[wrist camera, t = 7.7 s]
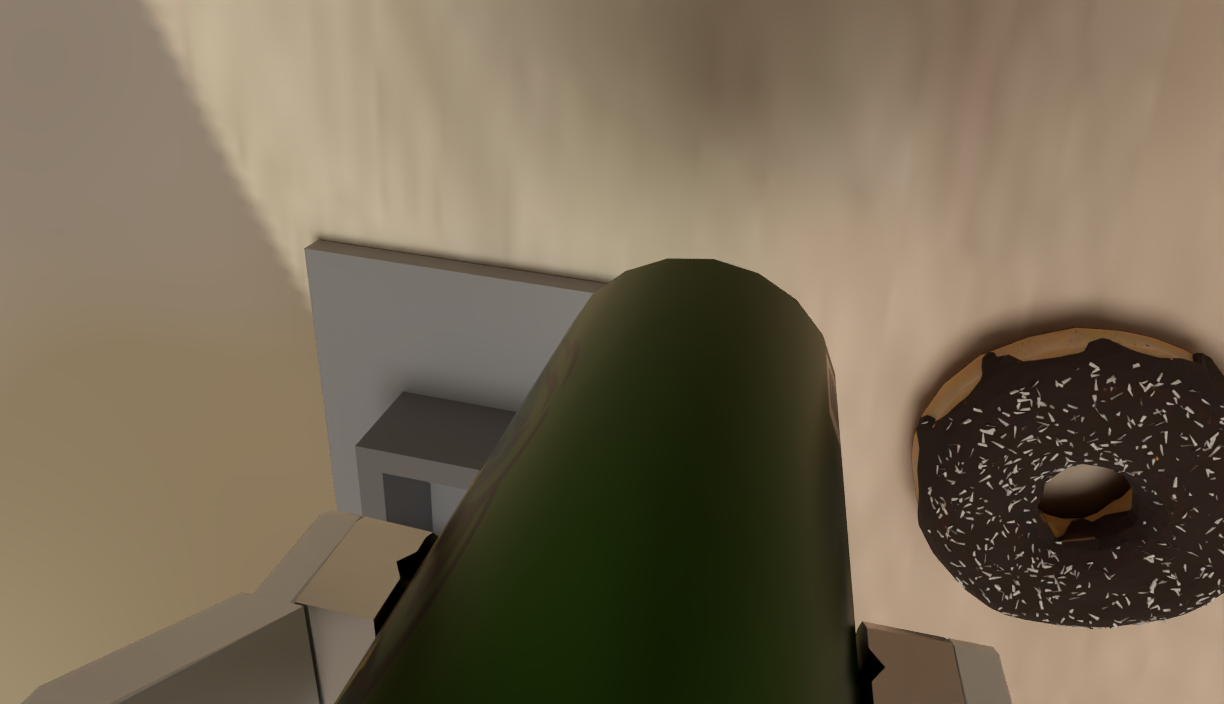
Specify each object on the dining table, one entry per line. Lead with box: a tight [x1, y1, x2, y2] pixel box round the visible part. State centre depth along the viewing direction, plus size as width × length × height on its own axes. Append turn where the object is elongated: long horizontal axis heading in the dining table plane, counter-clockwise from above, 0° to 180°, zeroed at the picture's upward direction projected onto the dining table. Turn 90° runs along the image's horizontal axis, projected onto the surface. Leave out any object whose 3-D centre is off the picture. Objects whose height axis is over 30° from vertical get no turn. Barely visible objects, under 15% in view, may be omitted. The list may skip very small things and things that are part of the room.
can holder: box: [304, 240, 607, 536], centre depth 32 cm, size 20×16×5 cm
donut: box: [911, 328, 1224, 629], centre depth 27 cm, size 11×12×4 cm
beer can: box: [334, 259, 861, 704], centre depth 11 cm, size 5×5×12 cm
